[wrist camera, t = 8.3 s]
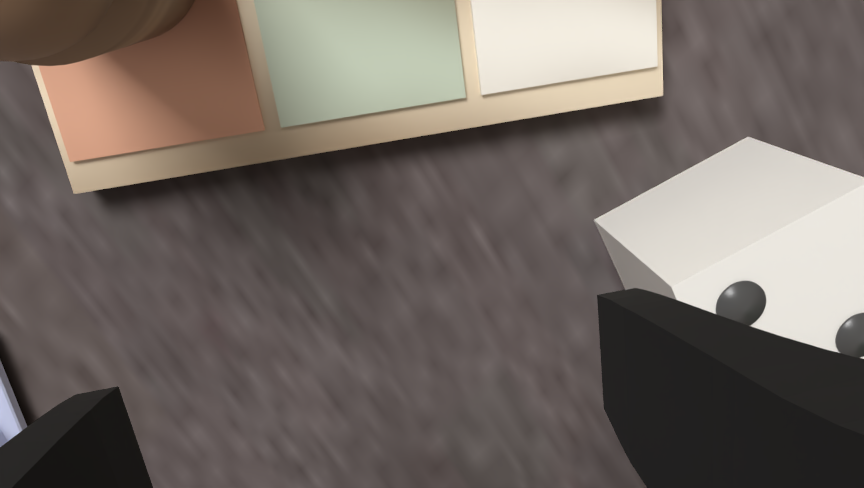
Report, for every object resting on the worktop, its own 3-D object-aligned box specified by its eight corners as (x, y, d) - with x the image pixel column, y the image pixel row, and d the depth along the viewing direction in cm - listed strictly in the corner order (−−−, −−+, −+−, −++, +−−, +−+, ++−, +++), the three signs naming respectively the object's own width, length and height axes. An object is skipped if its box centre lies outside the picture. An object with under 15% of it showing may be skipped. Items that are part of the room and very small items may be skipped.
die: (793, 274, 22) (920, 351, 18) (651, 349, 22) (739, 446, 18) (746, 136, 20) (873, 180, 16) (592, 219, 21) (672, 288, 16)
